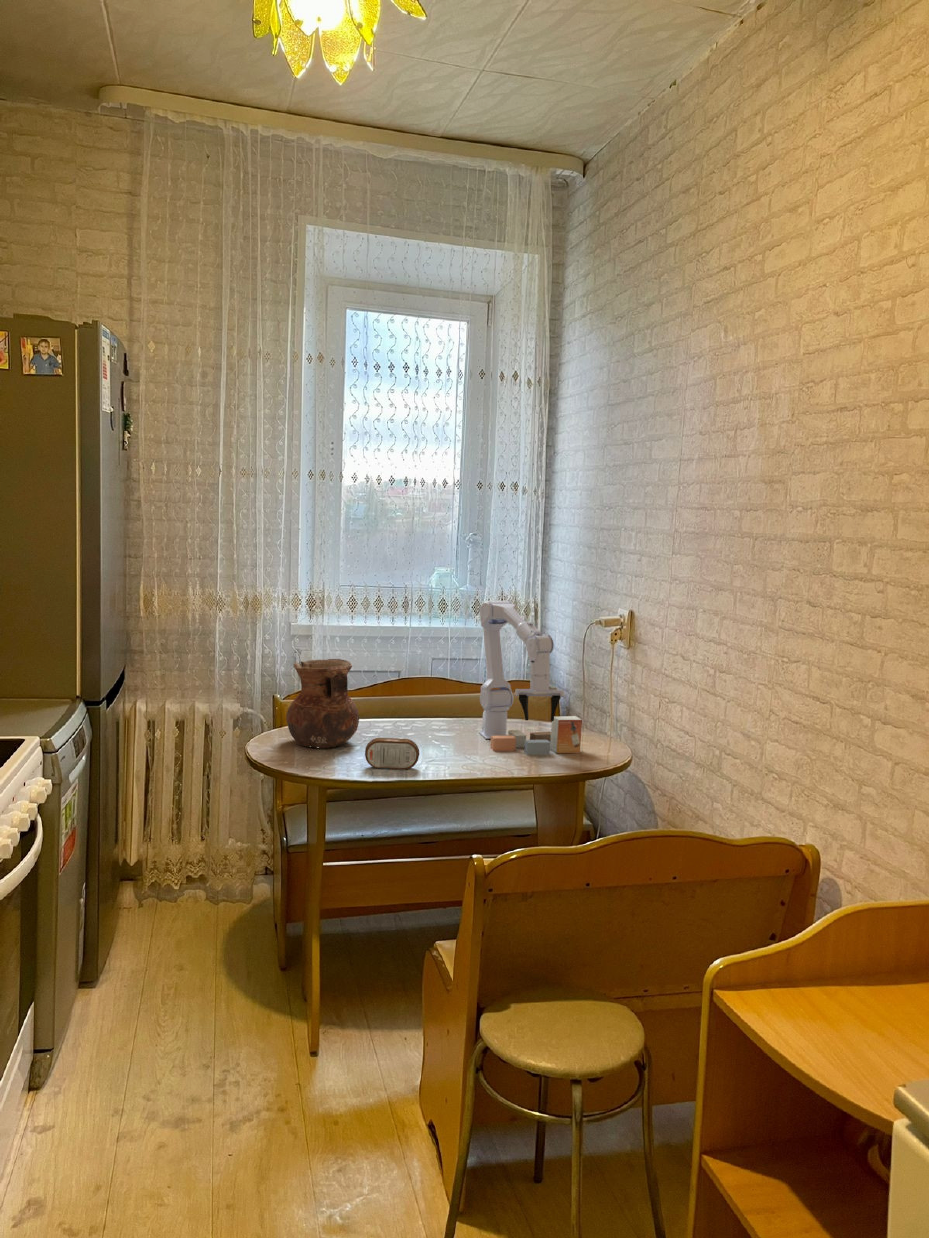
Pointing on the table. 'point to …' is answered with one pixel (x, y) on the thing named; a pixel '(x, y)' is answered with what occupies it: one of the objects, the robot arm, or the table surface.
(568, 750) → the small box
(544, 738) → the walnut brick
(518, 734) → the grey brick
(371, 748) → the tin
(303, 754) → the table surface
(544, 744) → the slate brick
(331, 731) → the jug
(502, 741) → the terracotta brick
